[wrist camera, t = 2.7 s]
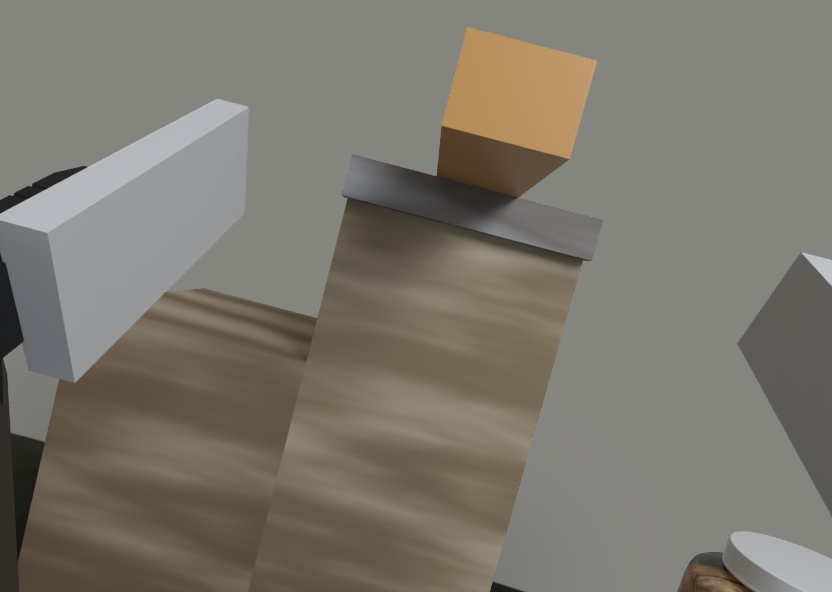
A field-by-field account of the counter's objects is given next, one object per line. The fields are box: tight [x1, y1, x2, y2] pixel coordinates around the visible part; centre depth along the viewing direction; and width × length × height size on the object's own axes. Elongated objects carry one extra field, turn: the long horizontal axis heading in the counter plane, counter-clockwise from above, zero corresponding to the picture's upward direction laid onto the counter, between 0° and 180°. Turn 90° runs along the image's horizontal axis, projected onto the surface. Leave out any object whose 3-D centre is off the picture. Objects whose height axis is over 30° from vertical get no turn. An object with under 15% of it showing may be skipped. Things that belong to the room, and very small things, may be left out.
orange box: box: [437, 27, 597, 198], centre depth 30 cm, size 26×4×3 cm, turn 178°
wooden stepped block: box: [18, 154, 603, 592], centre depth 36 cm, size 17×24×30 cm
